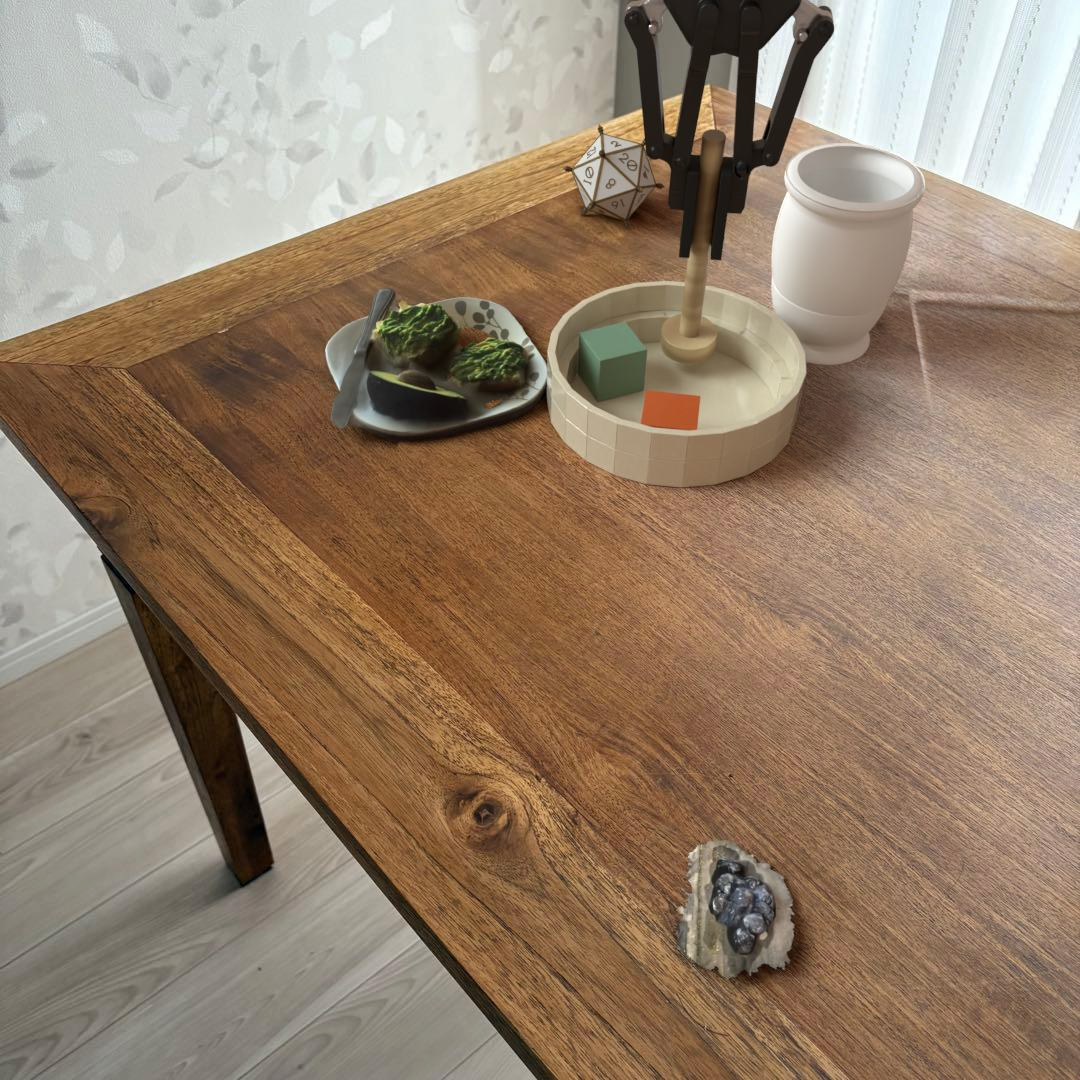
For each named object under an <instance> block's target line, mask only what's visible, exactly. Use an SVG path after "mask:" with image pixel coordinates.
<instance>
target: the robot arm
mask: <svg viewBox="0 0 1080 1080" xmlns="http://www.w3.org/2000/svg"><path fill="white" fill-rule="evenodd" d="M625 7H626V8H625V12H624V20H623V23H624V26H625V28H626V30H627V32H628V34H629V36H630V38H631V41H632V43H633V45H634V47H635V50H636V58H637V68H638V81H639V90H640V91H639V92H640V103H641V112H642V114H641V115H642V122H643V123H642V124H643V135H644V139H645V146H644V147H645V151H646V154H647V157H648V159H650V160H652V161H653V160H655V161H657V160H661V161H663V162H665V163H666V164H667V165H668V166H669V168H670V174H669V175H670V176H669V186H668V197H667V204H668V208H669V210H672V211H673V210H674V211H682V217H681V218H682V219H681V228H680V234H679V235H680V237H679V249H678V258H682V259H688V258H689V256H690V248H691V239H692V230H693V221H694V213H695V204H696V195H697V187H698V178H699V164H700V163H699V159H700V154H693V153H692V152H693V146H694V143H695V137H696V131H697V127H698V121H699V116H700V111H701V105H702V100H703V96H704V91H705V85H706V81H707V76H708V72H709V67H710V62H711V57H712V56H717V55H722V54H727V55H730V56H733V57H735V58H737V68H736V69H737V70H736V89H735V106H734V107H735V108H734V109H735V110H734V125H733V126H734V127H733V147H732V150H733V151H732V156H723V163H722V167H721V174H720V182H719V189H718V197H717V204H716V212H715V219H714V226H713V234H712V241H711V251H710V260H712V261H722V257H723V249H724V241H725V235H726V234H725V233H726V226H727V222H728V221H727V220H728V214H735V215H736V214H737V215H741V214H742V213H743V211H744V209H745V208H746V200H747V193H748V187H749V180H750V176H751V173H752V172H753V171H754V169H756V168H759V167H762V166H766V167H767V168H772V167H775V166H777V165H778V164H779V162H780V159H781V157H782V154H783V151H784V148H785V145H786V142H787V139H788V137H789V133H790V131H791V128H792V125H793V122H794V119H795V116H796V114H797V110H798V108H799V105H800V102H801V99H802V96H803V93H804V91H805V87H806V85H807V81H808V78H809V77H810V74H811V73H810V72H811V70H812V68H813V64H814V61H815V59H816V58H817V56H818V55H819V54H820V52H821V51H822V50H823V48H824V47H825V46H826V45H827V43H828V42H829V41H830V40H831V38H832V37H833V35H834V33H835V23H834V17H833V12H832V9H831V8H830V7H829V6H827V5H820V6H817V5H816V4H814V3H813V2H811V1H810V0H628V1H627V3H626V6H625ZM666 10H668V12H669V14H670V15H671V17H672V19H673V21H674V22H675V25H676V26H677V28H678V29H679V31H680V33H681V34H682V35H683V37H684V40H685V41H686V43H687V44H688V45H689V46H690V48H689V56H688V61H687V66H686V67H687V68H686V71H685V72H686V73H685V78H684V82H683V83H684V84H683V89H682V94H681V100H680V105H679V111H678V116H677V121H676V128H675V133H674V135H671V134H669V133H667V132H666V125H665V124H666V123H665V111H664V110H665V109H664V100H663V99H664V97H663V85H662V83H663V82H662V72H661V60H660V46H659V45H660V44H659V35H658V34H659V33H660V32H661V31H662V29H663V24H664V15H663V14H664V13H665V11H666ZM792 17H793V18H794V21H793V24H792V37H793V39H794V40H793V43H792V45H791V49H790V51H789V54H788V57H787V60H786V64H785V67H784V70H783V71H782V76H781V79H780V82H779V85H778V88H777V91H776V93H775V98H774V100H773V103H772V106H771V109H770V113H769V116H768V118H767V120H766V121H767V122H766V125H765V127H764V131H763V134H762V136H761V138H759V139H756V140H754V130H755V129H754V128H755V115H756V113H755V112H756V97H757V83H758V82H757V81H758V69H759V57H760V51H761V50H763V48H764V47H765V46H766V45H768V43H769V42H770V41H771V40H772V38H773V37H774V36H775V35H776V34H777V33H778V32H779V31H780V30H781V29H782V28H783V26H784V25H785V24H787V22H788V21H789V20H790V19H791V18H792Z"/></svg>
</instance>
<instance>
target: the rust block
mask: <svg viewBox="0 0 1080 1080" xmlns="http://www.w3.org/2000/svg"><path fill="white" fill-rule="evenodd" d="M699 407H700V396H696V395H687V394H677V393H668V392H659V391H649V390H646V393H645V399H644V405H643V412H642V418H641V424H643V425H647V426H650V427H654V428H666V429H677V430H697V426H698V416H699Z"/></svg>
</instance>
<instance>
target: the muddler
mask: <svg viewBox="0 0 1080 1080" xmlns="http://www.w3.org/2000/svg"><path fill="white" fill-rule="evenodd" d="M726 140H727V135H726V133H725V132H724V131H723V130H720V129H715V128H713V129H708V130H705V131H704V132H703V133H702V135H701V142H700V152H699V155H700V159H699V163H700V164H699V178H698V187H697V195H696V204H695V213H694V221H693V230H692V239H691V248H690V256H689V258H687V262H686V269H685V279H684V282H685V286H684V294H683V303H682V311H681V314H678V315H675V316H672V317H670V318H669V319H667V320H666V321H665V322H664V324H663V326H662V330H661V340H660V347H661V350H662V351H663V353H664V354H665V355H666V356H667V357H668V358H670V359H672V360H674V361H676V362H680V363H685V364H694V363H699V362H702V361H705V360H707V359H708V358H709V357H711V355H712V354H713V353H714V350H715V345H716V338H717V330H716V327H715V325H714V324H713V323H712V322H711V321H710V320H708V319H707V318H705V317H703V316H702V310H703V302H704V295H705V288H706V285H707V281H708V280H707V279H708V272H709V265H710V260H711V241H712V234H713V226H714V219H715V212H716V204H717V197H718V189H719V182H720V174H721V167H722V163H723V157H725V156H724V155H725V148H726Z"/></svg>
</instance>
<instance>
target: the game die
mask: <svg viewBox="0 0 1080 1080" xmlns="http://www.w3.org/2000/svg"><path fill="white" fill-rule="evenodd" d="M604 131H605V130H604V126H602V125H601V124H598V125H597V133H599V135H598V136H597V138H596V139H595V140H594V141H593V142H592V144H591V145H590V146H589V147H588V148H587V150H586V151H585V152H584V153H583V154H582V155H581V156H580V158H579V159H578V160H577V162H575V164H574V165H573V166H572V167H571V166H569V165H566V166H563V167H562V169H563V171H565V172H568V173H569V172H571V175H572V176H573V179H574V181H575V184H576V187H577V190H578V192H579V195H580V198H581V200H582V203H583V206H584V208H582V209H581V210H580V216H583V215H587V213H588V211H590V212H594V213H596V214H601V215H603V216H607V217H610V218H614V219H617V220H620V221H624V227H625V228H626V229H627V230H630V227H631V224H630V223H631V222H630V221H629V219H630V218H631V216H632V215H634V213H635V212H636V211H637V210H638V208H639V207H640V206H641V205H642V203H643V202H644V201H645V200H646V199H647V198H648V196H649V195H650V194H651V193H652V192H653V191H654V190H655V188H656V189H659V190H662V189H664V188H666V186H665V185H664V184H663V183H662V182H656V179H655V176H654V173H653V169H652V166H651V163H650V160H649V157H648V156H647V154H646V146H645V138H643V139H642V141H641V142H638V141H635V140H634V141H633V140H629V139H626V138H622V137H618V136H614V135H610V134H607V133H605V132H604Z"/></svg>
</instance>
